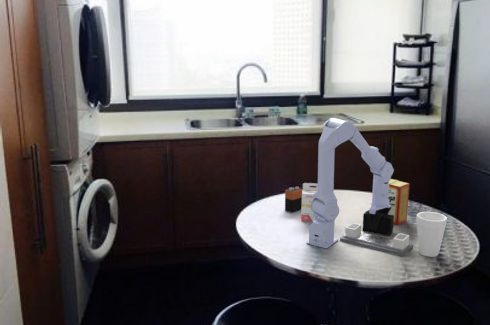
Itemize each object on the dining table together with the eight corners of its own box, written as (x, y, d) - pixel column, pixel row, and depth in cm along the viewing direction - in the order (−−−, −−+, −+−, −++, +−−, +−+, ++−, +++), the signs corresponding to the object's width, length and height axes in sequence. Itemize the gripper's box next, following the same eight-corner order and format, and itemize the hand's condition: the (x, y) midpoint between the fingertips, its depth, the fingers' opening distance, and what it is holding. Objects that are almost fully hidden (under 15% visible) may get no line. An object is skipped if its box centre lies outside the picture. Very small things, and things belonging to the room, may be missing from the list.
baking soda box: (406, 221, 198) (409, 182, 194) (397, 225, 193) (400, 185, 190) (385, 215, 205) (388, 177, 201) (376, 219, 200) (378, 180, 196)
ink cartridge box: (301, 221, 198) (302, 186, 194) (301, 217, 203) (301, 182, 199) (323, 222, 197) (324, 186, 194) (322, 218, 202) (323, 183, 198)
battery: (284, 210, 211) (284, 187, 209) (295, 207, 215) (296, 184, 213) (291, 213, 208) (291, 190, 205) (303, 209, 212) (303, 187, 209)
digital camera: (394, 231, 187) (395, 214, 186) (389, 236, 183) (391, 218, 181) (367, 226, 193) (368, 209, 191) (362, 231, 188) (363, 213, 186)
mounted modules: (402, 249, 168) (403, 240, 167) (345, 235, 180) (345, 227, 179) (408, 243, 172) (409, 234, 172) (352, 230, 184) (352, 222, 184)
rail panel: (403, 256, 166) (403, 251, 165) (339, 240, 179) (340, 236, 179) (413, 246, 174) (413, 242, 173) (351, 232, 187) (351, 228, 186)
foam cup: (420, 244, 175) (423, 209, 172) (447, 251, 169) (450, 215, 166) (409, 253, 168) (412, 217, 165) (437, 261, 162) (441, 223, 159)
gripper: (383, 199, 176) (381, 235, 180) (398, 189, 188) (395, 223, 191) (364, 195, 180) (362, 230, 184) (379, 186, 192) (377, 219, 195)
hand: (378, 226), depth 188 cm, fingers open, 6 cm apart
